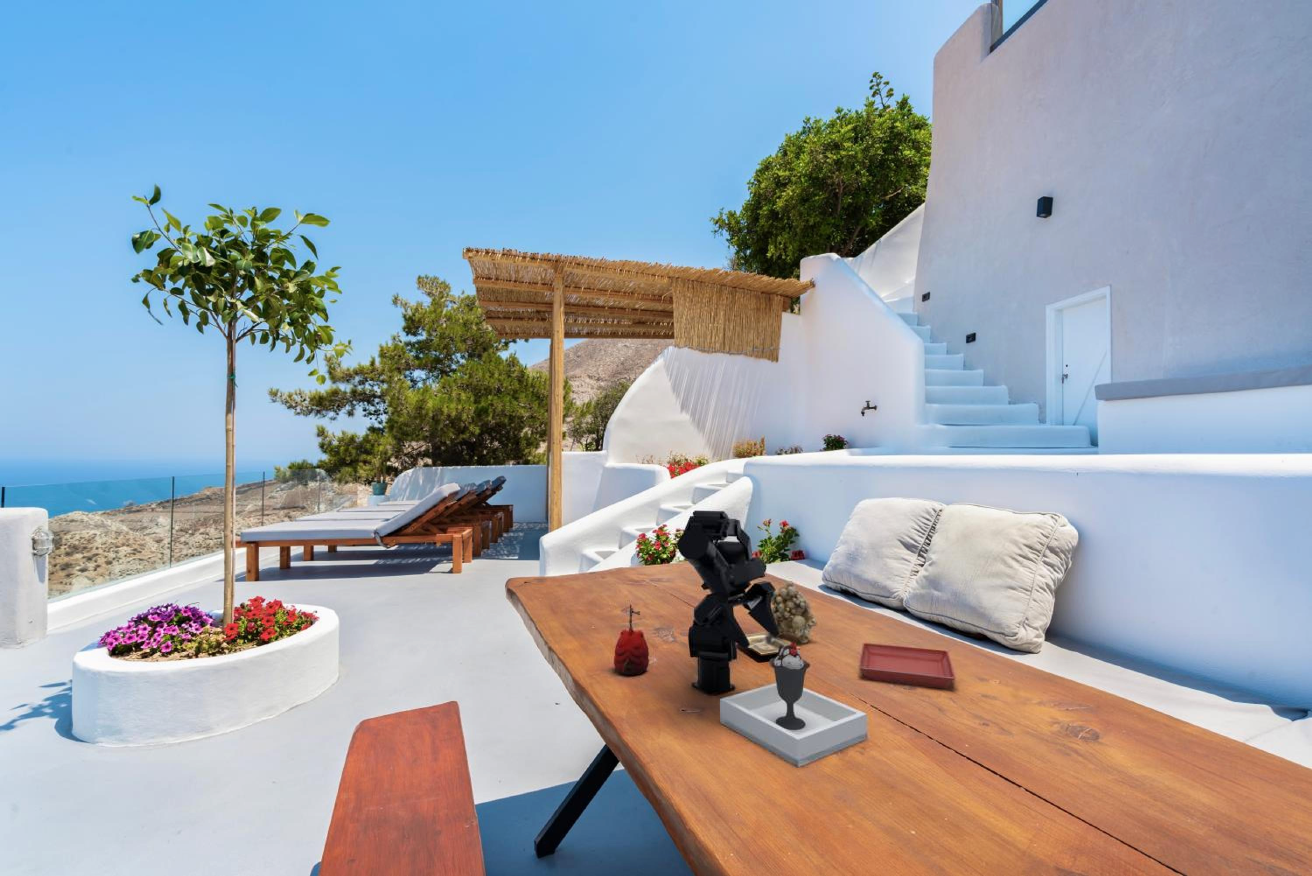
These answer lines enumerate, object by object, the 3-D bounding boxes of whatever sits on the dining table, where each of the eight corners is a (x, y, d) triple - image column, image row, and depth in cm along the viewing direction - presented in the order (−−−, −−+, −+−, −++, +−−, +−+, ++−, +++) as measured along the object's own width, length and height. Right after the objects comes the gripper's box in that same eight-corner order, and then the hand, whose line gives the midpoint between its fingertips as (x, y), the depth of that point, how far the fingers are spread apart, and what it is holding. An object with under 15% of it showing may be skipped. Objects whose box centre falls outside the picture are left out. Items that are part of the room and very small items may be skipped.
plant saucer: (858, 682, 121) (858, 666, 121) (862, 655, 138) (862, 641, 138) (956, 695, 114) (956, 678, 114) (948, 665, 131) (948, 650, 131)
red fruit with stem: (650, 666, 130) (650, 598, 130) (646, 678, 123) (646, 606, 123) (616, 665, 130) (616, 597, 131) (610, 677, 123) (610, 605, 124)
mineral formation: (779, 631, 157) (778, 574, 158) (823, 642, 147) (822, 581, 148) (760, 637, 152) (760, 578, 152) (805, 649, 142) (804, 586, 142)
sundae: (806, 735, 94) (804, 641, 95) (765, 727, 97) (764, 636, 98) (815, 719, 100) (813, 631, 101) (776, 712, 103) (775, 626, 104)
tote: (720, 722, 102) (720, 699, 102) (785, 701, 110) (785, 680, 111) (798, 767, 87) (798, 739, 87) (867, 739, 95) (866, 714, 96)
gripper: (706, 548, 102) (759, 624, 93) (766, 539, 115) (818, 605, 107) (672, 587, 107) (720, 663, 98) (734, 574, 120) (781, 640, 112)
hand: (763, 641), depth 104 cm, fingers open, 9 cm apart
